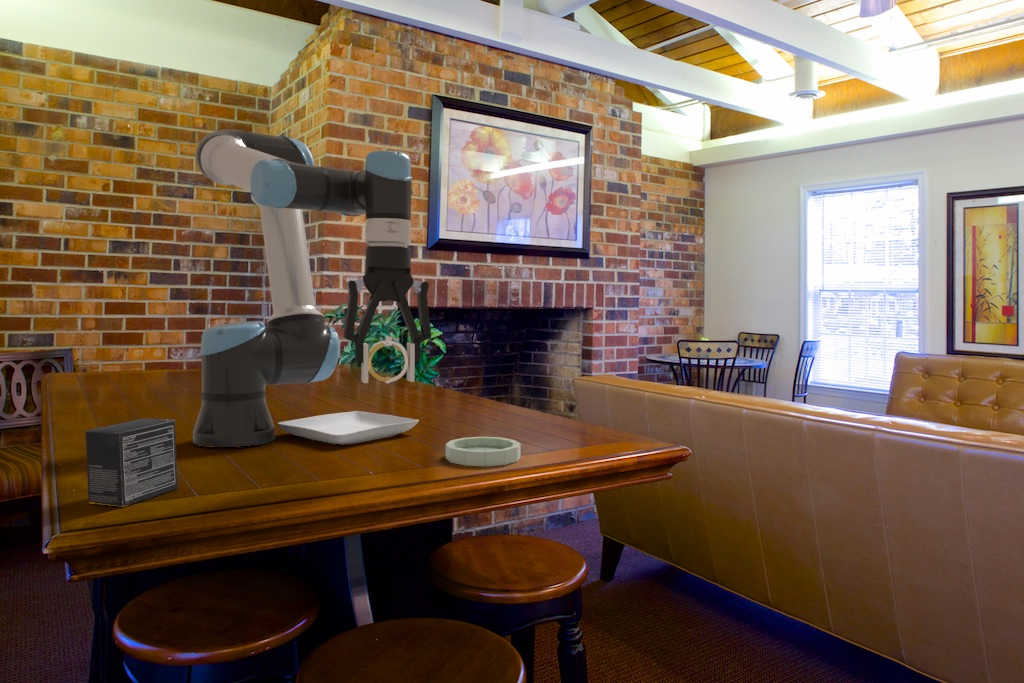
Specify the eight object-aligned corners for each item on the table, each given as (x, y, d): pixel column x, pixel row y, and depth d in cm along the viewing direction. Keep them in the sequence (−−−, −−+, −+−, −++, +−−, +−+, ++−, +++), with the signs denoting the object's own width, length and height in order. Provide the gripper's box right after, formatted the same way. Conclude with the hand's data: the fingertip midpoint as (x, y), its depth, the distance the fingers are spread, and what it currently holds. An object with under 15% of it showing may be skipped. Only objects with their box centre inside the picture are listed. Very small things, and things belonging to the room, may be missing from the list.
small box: (144, 485, 110) (142, 416, 109) (179, 489, 108) (178, 419, 107) (84, 504, 100) (82, 428, 99) (123, 508, 98) (121, 431, 97)
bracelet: (409, 382, 126) (409, 335, 125) (407, 384, 122) (407, 337, 122) (368, 381, 125) (368, 335, 125) (365, 384, 122) (365, 336, 121)
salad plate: (274, 437, 149) (274, 420, 149) (357, 423, 165) (356, 408, 165) (338, 452, 136) (337, 434, 135) (421, 435, 152) (421, 419, 152)
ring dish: (458, 468, 122) (458, 453, 122) (438, 452, 134) (438, 439, 134) (530, 463, 126) (530, 448, 126) (505, 448, 139) (505, 435, 138)
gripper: (329, 242, 115) (330, 386, 117) (451, 246, 122) (450, 382, 124) (324, 245, 122) (325, 380, 124) (440, 249, 129) (439, 377, 131)
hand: (387, 381), depth 124 cm, fingers closed on bracelet, 7 cm apart
